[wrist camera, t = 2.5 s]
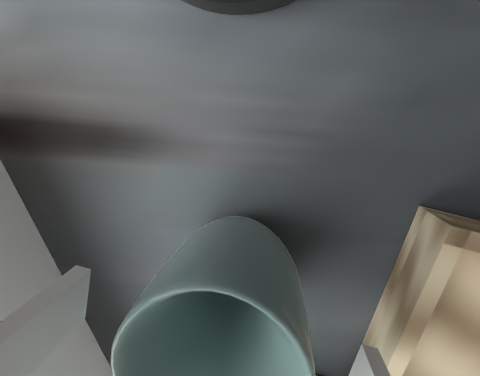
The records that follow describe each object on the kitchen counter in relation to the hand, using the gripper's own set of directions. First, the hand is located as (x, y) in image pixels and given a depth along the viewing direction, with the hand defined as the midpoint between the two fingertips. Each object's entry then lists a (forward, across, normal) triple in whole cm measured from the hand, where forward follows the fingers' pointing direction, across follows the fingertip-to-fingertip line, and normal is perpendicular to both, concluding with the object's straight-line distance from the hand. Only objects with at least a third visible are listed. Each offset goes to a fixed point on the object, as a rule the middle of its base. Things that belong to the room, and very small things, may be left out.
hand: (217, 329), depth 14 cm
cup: (+7, 0, 0) cm, 7 cm away
